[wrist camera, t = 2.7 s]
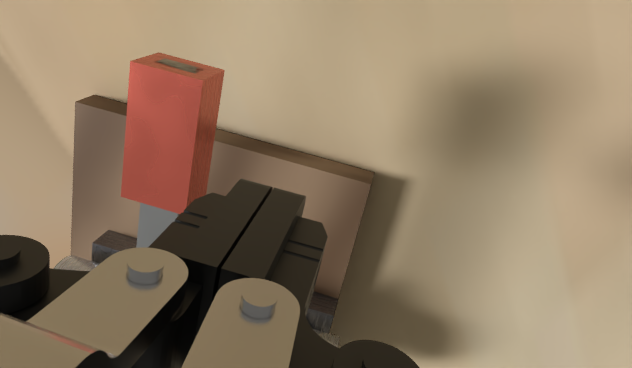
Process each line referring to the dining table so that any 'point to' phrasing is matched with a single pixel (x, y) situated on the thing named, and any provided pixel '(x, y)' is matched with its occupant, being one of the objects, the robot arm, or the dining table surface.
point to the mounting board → (213, 185)
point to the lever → (168, 138)
